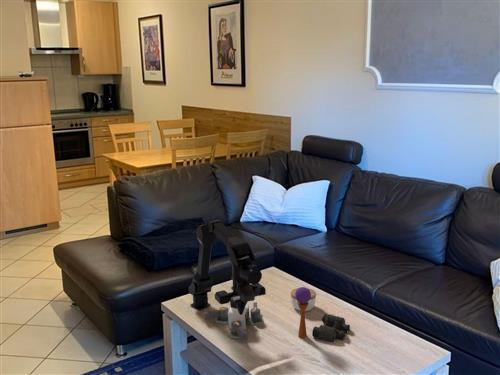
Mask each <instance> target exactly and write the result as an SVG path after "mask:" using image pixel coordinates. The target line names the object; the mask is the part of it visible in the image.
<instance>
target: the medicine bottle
mask: <svg viewBox="0 0 500 375" xmlns="http://www.w3.org/2000/svg"><path fill="white" fill-rule="evenodd" d="M229 305H230V308H228V309H229V312H228V321H229V323H228V328H229V329H230V330H231V323H232V322H233V321H241V322H242V328H243V329H244V330H247V329H248V326H249V325H250V324H249V321H250V306H249V304H246V306H245V309H244V311H243V314H242V315H240V314H239V312H238V310H237V308H236V305H235V303H234V302H233V301H232V300H231V301H230V302H229Z"/></svg>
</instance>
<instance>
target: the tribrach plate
mask: <svg viewBox="0 0 500 375" xmlns="http://www.w3.org/2000/svg"><path fill="white" fill-rule="evenodd" d="M214 320H215V322H216V323H217V324H220V325H229V321H228V320H225V321H222V320H220V319H219V318H216V319H214ZM263 323H264V319H263V317H261V316H260V321H257V322H254V321H251V318H250V321H249V324H248V325H250V326H259V325H262V324H263ZM228 338H230V339H234V340H239V339H240V340H241V338H240V336H239V335H233V334H232V333H231V330H229V331H228Z"/></svg>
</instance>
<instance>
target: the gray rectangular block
mask: <svg viewBox="0 0 500 375" xmlns="http://www.w3.org/2000/svg"><path fill="white" fill-rule="evenodd" d="M230 331H231V333H232V334H233V335H239V336H240V340H242V341H248V332H247V331H246V329H243V328H242V322H241V321H233V322H232V323H231V329H230Z"/></svg>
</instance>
